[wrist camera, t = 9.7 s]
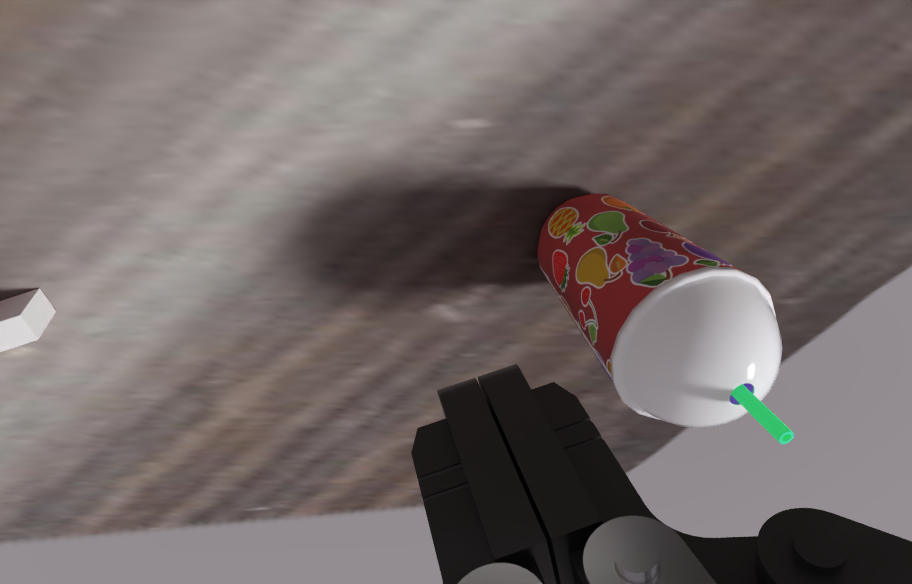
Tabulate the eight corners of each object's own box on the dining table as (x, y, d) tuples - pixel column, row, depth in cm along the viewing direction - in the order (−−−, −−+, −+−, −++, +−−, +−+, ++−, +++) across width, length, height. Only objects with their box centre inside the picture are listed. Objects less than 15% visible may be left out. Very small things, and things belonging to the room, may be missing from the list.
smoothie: (549, 312, 44) (718, 546, 27) (497, 219, 39) (660, 427, 22) (653, 250, 43) (893, 446, 26) (612, 149, 39) (869, 305, 22)
